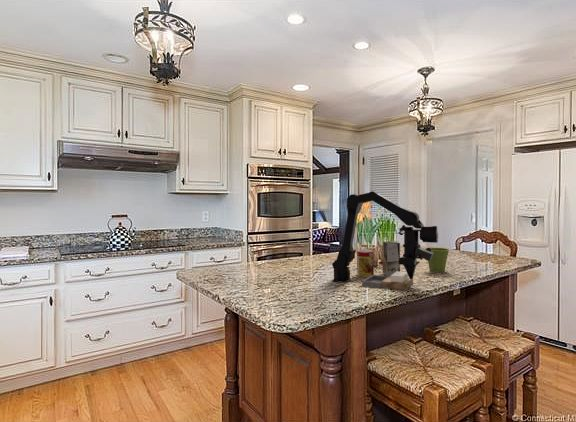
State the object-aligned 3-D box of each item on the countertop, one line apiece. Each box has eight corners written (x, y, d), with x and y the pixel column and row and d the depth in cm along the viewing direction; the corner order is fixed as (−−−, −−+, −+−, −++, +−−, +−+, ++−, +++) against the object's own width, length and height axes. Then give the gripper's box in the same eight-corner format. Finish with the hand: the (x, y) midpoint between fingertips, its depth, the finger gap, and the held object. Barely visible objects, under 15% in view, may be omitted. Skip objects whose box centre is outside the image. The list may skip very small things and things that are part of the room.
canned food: (375, 276, 173) (375, 251, 173) (358, 277, 173) (358, 252, 173) (371, 273, 181) (371, 249, 181) (356, 273, 181) (355, 249, 181)
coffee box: (400, 276, 172) (400, 242, 172) (387, 277, 172) (386, 243, 172) (395, 273, 181) (395, 240, 181) (382, 273, 181) (382, 241, 181)
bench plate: (381, 287, 152) (381, 281, 152) (389, 281, 163) (389, 275, 163) (406, 289, 147) (406, 283, 147) (412, 283, 158) (412, 277, 158)
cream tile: (390, 281, 151) (390, 275, 151) (396, 277, 160) (396, 271, 160) (403, 282, 149) (403, 276, 149) (408, 278, 157) (408, 272, 157)
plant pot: (425, 272, 181) (425, 250, 181) (424, 268, 192) (423, 247, 192) (451, 273, 177) (451, 250, 177) (448, 269, 189) (448, 247, 188)
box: (362, 285, 155) (362, 281, 155) (372, 279, 168) (372, 274, 168) (381, 287, 151) (381, 282, 151) (390, 280, 164) (390, 276, 164)
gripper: (427, 245, 139) (427, 285, 140) (435, 240, 155) (435, 276, 156) (398, 243, 145) (398, 282, 146) (408, 239, 161) (408, 274, 162)
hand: (411, 278), depth 152 cm, fingers closed
